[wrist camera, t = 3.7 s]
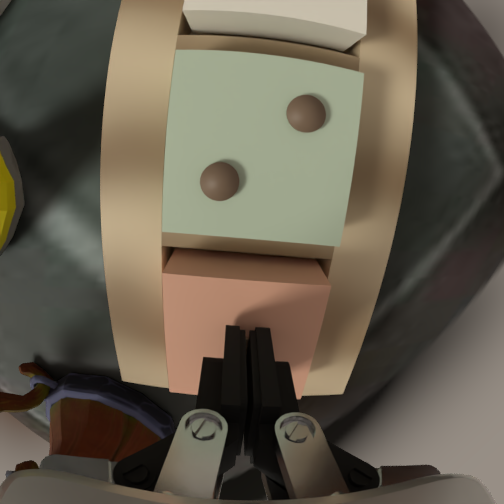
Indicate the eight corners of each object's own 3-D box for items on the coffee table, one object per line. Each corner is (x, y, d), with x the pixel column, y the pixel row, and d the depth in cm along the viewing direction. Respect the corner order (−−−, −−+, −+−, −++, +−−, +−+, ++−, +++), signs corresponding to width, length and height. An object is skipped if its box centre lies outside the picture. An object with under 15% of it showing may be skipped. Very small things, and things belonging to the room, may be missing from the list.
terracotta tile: (175, 247, 13) (160, 275, 10) (316, 259, 13) (332, 288, 11) (177, 357, 15) (168, 394, 12) (293, 364, 15) (301, 402, 13)
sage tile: (188, 66, 10) (174, 48, 8) (340, 84, 10) (366, 72, 8) (176, 213, 12) (160, 233, 10) (321, 226, 13) (341, 249, 10)
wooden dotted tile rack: (165, -59, 9) (152, -90, 6) (383, -31, 10) (410, -55, 7) (137, 343, 17) (122, 380, 14) (328, 356, 18) (342, 393, 15)
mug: (-12, 361, 19) (-85, 471, 5) (10, 282, 16) (-124, 428, 2) (141, 465, 23) (119, 590, 9) (209, 425, 21) (201, 606, 7)
